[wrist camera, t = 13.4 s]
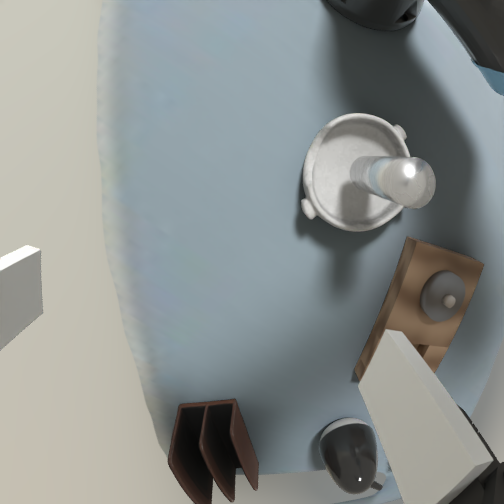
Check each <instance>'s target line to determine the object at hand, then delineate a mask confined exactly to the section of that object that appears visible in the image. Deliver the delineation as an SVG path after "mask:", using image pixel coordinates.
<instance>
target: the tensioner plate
mask: <svg viewBox="0 0 504 504" xmlns="http://www.w3.org/2000/svg"><path fill="white" fill-rule="evenodd" d="M483 266H484V264H483V263H481V262H479V261H478V260H476V259H474V258H471V257H468V256H466V255H463V254H460V253H457V252H454V251H451V250H448V249H445V248H442V247H439V246H436V245H433V244H430V243H427V242H424V241H421V240H418V239H414V238H411V237H408V236H407V238H406V241H405V245H404V248H403V251H402V254H401V257H400V259H399V262H398V265H397V268H396V271H395V274H394V276H393V279H392V282H391V285H390V287H389V290H388V292H387V295H386V298H385V300H384V303H383V305H382V308H381V310H380V313H379V315H378V317H377V320H376V322H375V325H374V327H373V329H372V331H371V334H370V336H369V338H368V341H367V343H366V345H365V347H364V349H363V352H362V354H361V356H360V358H359V360H358V362H357V364H356V366H355V368H354V370H355V372H356V375H357V377H358V379H359V381H361V379H362V377H363V376H364V374H365V372H366V370H367V368H368V366H369V364H370V362H371V360H372V358H373V355H374V353H375V351H376V349H377V347H378V345H379V343H380V341H381V338H382V336H383V334H384V332H385V330H386V329H388V330H394V331H401V332H403V334H404V335H405V336H406V337H407V339H408V340H409V341H410V343H411V344H412V345H413V346H414V348H415V349H416V350H417V352H418V353H419V354H420V356H421V357H422V358H423V359H424V361H425V362H426V363H427V365H428V366H429V367H430V369H431V370H432V371H433V373H435V371H436V370H437V368H438V366H439V364H440V362H441V361H442V359H443V357H444V355H445V353H446V351H447V349H448V347H449V345H450V343H451V341H452V339H453V337H454V335H455V333H456V331H457V329H458V327H459V325H460V323H461V321H462V318H463V316H464V314H465V312H466V309H467V307H468V305H469V302H470V300H471V298H472V295H473V293H474V290H475V288H476V285H477V283H478V280H479V277H480V275H481V272H482V269H483Z"/></svg>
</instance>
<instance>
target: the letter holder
mask: <svg viewBox="0 0 504 504" xmlns="http://www.w3.org/2000/svg"><path fill="white" fill-rule="evenodd" d="M168 465H169V467H170V469H171V471H172V472H173V474H174V476H175V478H176V479H177V481H178V483H179V484H180V486H181V487H182V488H183V490H184V491H185V493H186V494H187V495H188V496H189V498H190V499H191V500H192V501H193V502H194V503H195V504H212V503H211V502H212V487H213V479H214V481H215V482H216V484H217V486H218V487H219V489H220V490H221V491H222V492H223V494H224V495H225V497H226V498H227V499H228V500H229V501H230V502H234V500H235V474H236V468H242V469H243V471H244V473H245V476H246V477H247V479H248V481H249V483H250V484H251V486H252V488H253V489H254V490H255V491H257V489H258V468H259V463H258V460H257V457H256V455H255V452H254V449H253V446H252V444H251V441H250V438H249V435H248V432H247V429H246V426H245V424H244V421H243V418H242V416H241V413H240V410H239V407H238V404H237V401H236V399H230V400H220V401H210V402H199V403H186V404H180V405H179V407H178V411H177V416H176V420H175V425H174V429H173V434H172V439H171V445H170V451H169V455H168Z"/></svg>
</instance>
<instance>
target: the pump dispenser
mask: <svg viewBox="0 0 504 504" xmlns="http://www.w3.org/2000/svg"><path fill="white" fill-rule="evenodd" d="M318 449H319V454H320V457H321V459H322V462H323V464H324V466H325V468H326V470H327V471H328V473H329V475H330V476H331V478H332V479H333V480H334V482H335V483H336V484H337V485H338V486H339V487H340V488H341V489H342V490H343V491H345V492H347V493H349V494H360V493H363V492H365V491H366V490H368V489H369V488H373V489H376V490H381V489H382V487H383V486H382V485H381V484H379V483H377V482H376V481H374V480H375V477H376V473H377V465H378V450H377V443H376V438H375V434H374V431H373V429H372V428H371V427H370V426H368V425H367V424H366V423H365V422H363V421H362V420H360V419H357V418H343V419H340V420H337V421H335V422H333V423H332V424H330V425H329V426H328V427H327V428H326V429H325V430H324V432H323V434H322V436H321V439H320V442H319V446H318Z"/></svg>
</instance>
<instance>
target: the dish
mask: <svg viewBox="0 0 504 504" xmlns="http://www.w3.org/2000/svg"><path fill="white" fill-rule="evenodd" d="M406 138H407V135H406V133H405V131H404V129H403V128H402V127H401V126H399V125H397V124H396V125H394V126H392V125H391V124H390V123H388V122H387V121H385V120H383V119H381V118H379V117H376V116H374V115H369V114H363V113H352V114H346V115H342V116H339V117H337V118H335V119H333V120H332V121H330V122H329V123H327V124H326V125H325V126H324V127H323V128H322V129H321V130H320V131H319V132H318V134H317V135H316V137H315V138H314V140H313V142H312V144H311V145H310V147H309V150H308V152H307V155H306V158H305V162H304V167H303V187H304V192H305V196H306V197H305V198H304V199H302V200H301V206H302V210H303V212H304V214H305V215H306V216H307V217H308V218H309V219H311V220H312V219H313V218H314V217H315V216H319V217H320V218H322V219H323V220H324V221H326V222H327V223H329V224H330V225H332V226H334V227H337V228H339V229H343V230H347V231H353V232H362V231H368V230H372V229H375V228H377V227H380V226H381V225H383V224H385V223H386V222H388V221H389V220H391V219H392V218H393V217H395V216H396V215H397V214H398V213H399V212H400V211H401V210H402V209H403V208H404V207H405V206H402V205H399V204H397V203H394V202H391V201H389V200H386V199H383V198H380V197H378V196H375V195H372V194H369V193H366V192H364V191H361V190H359V189H357V188H356V187H355V186H354V185H353V184H352V182H351V179H350V167H351V165H352V163H353V162H354V161H355V160H356V159H357V158H359V157H361V156H394V157H410V154H409V151H408V149H407V146H406V144H405V142H404V140H405V139H406ZM405 208H407V207H405Z"/></svg>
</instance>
